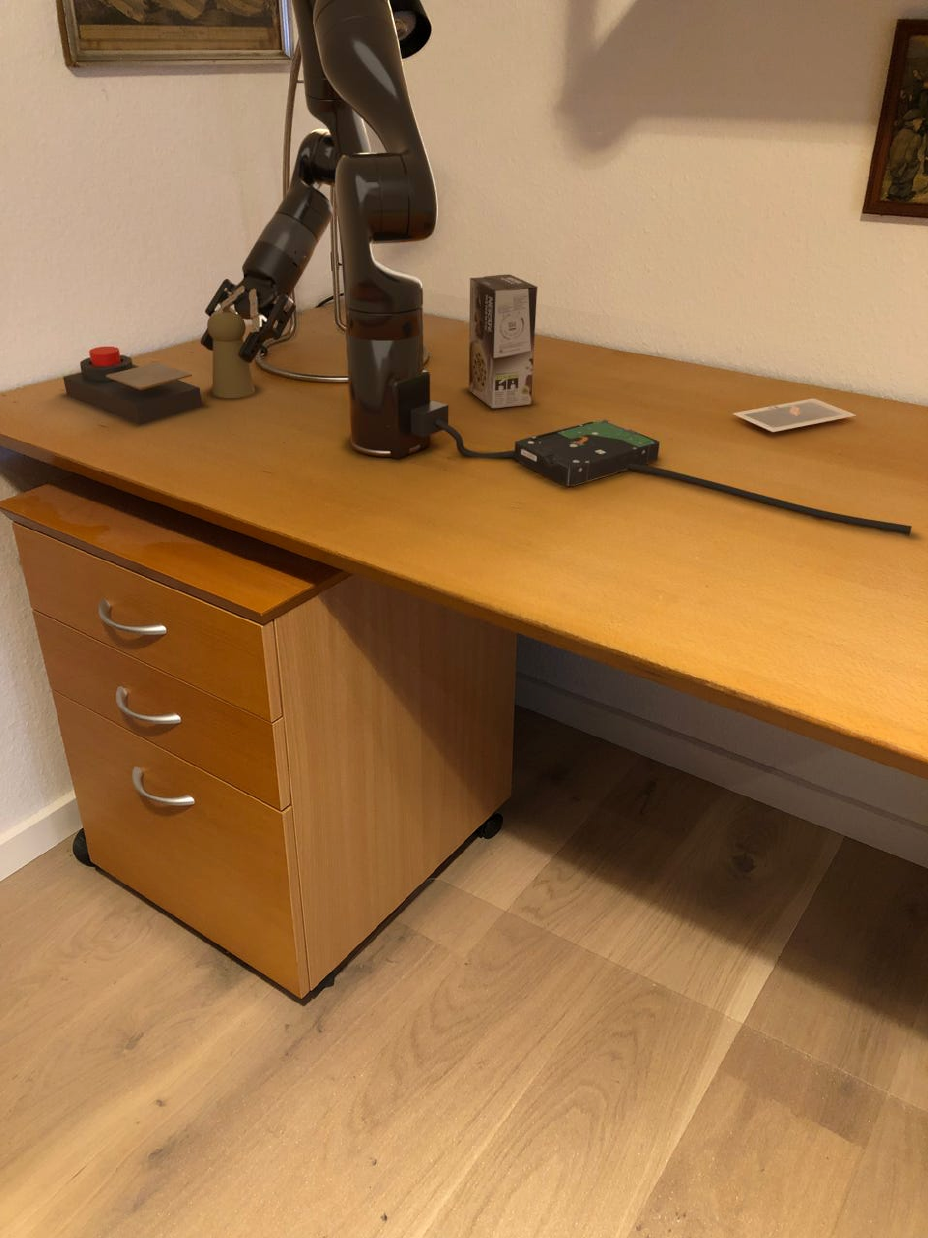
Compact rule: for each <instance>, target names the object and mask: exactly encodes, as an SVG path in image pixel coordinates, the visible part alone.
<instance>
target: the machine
mask: <svg viewBox="0 0 928 1238" xmlns="http://www.w3.org/2000/svg"><path fill="white" fill-rule="evenodd" d="M120 358H121V363H119V364H116V365H112V366H93V365H91V360H90V357H86V358H84V359H83V360H80V362H79V366H80V371H81V372H76V373H73V374H68V375H64V376H62V380H63V383H64V388H65V393H66V396H68V397H71V398H73V399H76V400H78V401H80V402H82V403H85V404H88V405H90V406H92V407H95V408H97V409H100V410H102V411H104V412H107V413H110V414H112V415H115V416H117V417H119V418H122V419H124V420H126V421H128V422H132V423H134V424H137V425H139V426H140V425H144V424H147V423H151V422H153V421H157V420H161V419H163V418H167V417H170V416H174V415H178V414H181V413H184V412H188V411H191V410H195V409H198V408H201V407H203V401H202V395H201V388H200V387H199V386H196V385H193V384H190V383H187V382H185V381H182V380H180V379H179V380H176V381H172V382H168V383H165V384H161V385H157V386H153V387H150V388H146V389H142V390H140V389H137V388H134V387H131V386H129V385H126V384H123V383H121V382H118V381H115V380H113V379H110V378H107V377H106V375H109V374H113V373H117V372H121V371H125V370H129V369H133V368H137V367H140V366H139V365H136V364H133V359H132V357H130V356H128V355H124V354H120Z"/></svg>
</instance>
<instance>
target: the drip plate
mask: <svg viewBox="0 0 928 1238" xmlns="http://www.w3.org/2000/svg"><path fill="white" fill-rule="evenodd" d="M192 376H193V375H192V373H189V372H187V371H185V370H181V369H177V368H175V367H171V366H169V365H166V364H163V363H160V362H153V363H149V364H144V365H141V366H139V367H137V368H133V369H129V370H125V371H121V372H117V373H113V374H109V375H106V377H107V378H110V379H113V380H115V381H118V382H121V383H123V384H126V385H129V386H131V387H134V388H137V389H140V390H142V389H146V388H150V387H153V386H157V385H161V384H165V383H168V382H172V381H176V380H179V381H180V380H183V379H187V378H190V377H192Z"/></svg>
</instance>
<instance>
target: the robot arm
mask: <svg viewBox="0 0 928 1238" xmlns="http://www.w3.org/2000/svg"><path fill="white" fill-rule="evenodd" d="M291 5H292V9H293V14H294V18H295V25H296V29H297V36H298V41H299V48H300V57H301V65H302V67H301V68H302V78H303V79H302V80H303V87H304V98H305V99H304V100H305V105H306V109H307V111H308V112H309V114H310V115H311V116H312V117H313V118H315V119H316V120H318V121H319V122H321V123H322V124H323V125H324V126H325V127H326V128H327V129H325V128H317V129H314V130H312V131H310V132H309V133H308V134H307V135H305V137H304V138H303V139H302V141H301V142H300V144H299V146H298V151H297V153H296V158H295V162H294V167H293V170H292V173H291V177H290V181H289V186H288V189H287V192H286V194H285V195H284V197H283V198H282V201H281V202H280V203H279V205H278V207H277V209H276V210H275V213H274V214H273V215H272V217H271V218H270V220H269V221H268V222H267V223H266V225H265V227H264V228H263V229H262V231H261V233H260V235H259V236H258V238H257V239H256V242H255V243H254V245H253V247H252V249H251V250H250V252H249V254H248V255H247V257H246V259H245V260H244V262H243V264H242V266H241V271H242V275H243V278H242V279H241V281H240V282H239V283H238V284H234V283H233V282H232V281H231V280H230V279H229V278H225V279H224V280H223V281H222V282H221V284H220V285H219V287H218V289H217V290H216V292H215V293H214V295H213V296H212V298H211V300H210V301H209V303H208V305H207V306H206V307H205V309H204V313H205V315H207V316H208V317H209V318H210V317H211V316H212V315H214V314H218V313H225V312H228V313H236V314H238V315H240V316H241V317H242V318H243V320H246V321H248V320H251V322H252V331H249V333H248V334H247V336H246V338H245V339H244V340H243V341H244V343H243V345H242V347H241V348H240V350H239V352H238V356H239V357H240V358H241V359H243V360H244V361H245V362H247V363H249V364H251V363H252V362H253V360H255V359H256V357H257V355H258V353H259V351H260V350H261V349H262V346H263V345H264V343H266V342H269V340H270V339H271V340H272V339H273V340H274V341H279V340H280V338H281V337H282V335H283V333H284V331H285V329H286V328H287V326H288V324H289V321H290V320H291V317H292V315H293V314H294V312H295V310H296V308H297V304H296V303H295V302H294V300H293V299H292V298H290V297H291V294H292V293H293V291H294V289H295V288H296V286H297V285H298V282H299V281H300V279H301V277H302V275H304V272H305V270H306V268H307V267H308V266H309V263H310V261H311V260H312V258H313V255H314V252H315V250H316V247H317V245H318V244H319V242H320V240H321V239H322V237H323V235H324V233H325V232H326V231H327V228H328V227H329V224H330V223H331V221H332V219H333V215H334V207H333V205H332V203H331V200H330V199H328V197H327V196H326V195H325V194H324V193H323V192H321V191H320V189H321V188H322V186H323V185H325V186H326V185H327V186H330V187H333V188H334V192H335V207H336V216H337V224H338V225H337V226H338V233H339V243H340V254H341V255H340V256H341V257H340V258H341V272H342V273H341V274H342V284H343V285H342V286H343V303H344V320H345V342H346V343H345V344H346V345H345V347H346V360H347V361H346V364H347V381H348V383H347V384H348V399H349V400H348V404H349V419H350V420H349V422H350V446H351V447H352V449H353V450H354V451H357V452H359V453H361V454H364V455H368V456H374V457H383V458H384V457H388V458H394V459H396V460H399V459H401V458H404V457H406V456H408V455H411V454H414V453H416V452H418V451H422V450H423V449H426V448H428V447H431V435H434V434H436V433H439V432H442V431H444V432H446V433H447V434H448V435H450V437H452V438H453V439H454V441H455V443H456V444H455V445H456V449H457V451H458V452H459V454H460V455H462V456H464V457H467V458H473V459H474V458H476V459H477V458H479V459H495V460H496V459H498V460H501V459H502V460H503V459H504V460H505V459H514V456H515V450H506V451H499V452H498V451H497V452H485V453H483V452H482V453H481V452H475V451H472V450H470V449H468V448H466V447H465V446H464V440H463V437H462V435H461V434H460V433H459V432H458V430H457V429H455V428H454V427H452V426H451V425H449V404H447V403H444V402H440V401H436V400H431V374H430V371H428V370H424V369H425V368H424V363H425V361H424V358H425V357H424V286H423V284H422V281H421V280H420V278H418V277H417V276H415V275H413V274H411V273H409V272H405V271H402V270H398V269H395V268H392V267H390V266H388V265H385V264H384V263H382V262H381V261H379V260H378V259H376V258H375V257H374V254H373V248H372V246H373V245H382V244H383V245H385V244H403V243H404V244H406V243H416V242H417V243H418V242H421V241H425V240H427V239H429V238H430V237H431V236H432V235H433V234H434V232H435V229H436V227H437V223H438V215H439V207H438V194H437V188H436V182H435V178H434V174H433V170H432V167H431V164H430V160H429V156H428V153H427V149H426V146H425V143H424V140H423V137H422V134H421V131H420V128H419V125H418V122H417V119H416V116H415V115H416V114H415V112H414V108H413V105H412V101H411V97H410V93H409V88H408V84H407V78H406V75H405V69H404V65H403V60H402V59H403V58H402V54H401V48H400V41H399V38H398V34H397V33H398V32H397V28H396V24H395V19H394V15H393V10H392V7H391V4H390V0H291ZM365 123H366V124H367V125H368V126H369V128H370V129H372V131H373V132H374V134H375V135H376V136H377V137H378V140H379V141H380V142H381V144H382V146H383V148H384V150H385V152H372V147H371V143H370V139H369V136H368V133H367V129H366V125H365ZM218 305H219V306H220V307H219V308H217V307H218ZM232 306H233V308H232ZM216 308H217V309H216ZM276 322H277V324H276ZM275 324H276V326H275V327H274V325H275ZM200 345H201V346H203V347H204V348H205V349H206V350H208V351H211V352H213V338H212V337H211V336H210V335H209V332H208V329H207V328H206V329H205V331H204V332H203V334H202V335H201V339H200ZM627 469H628V470H630V471H634V472H639V473H644V474H650V475H653V476H659V477H663V478H667V479H671V480H674V481H679V482H682V483H687V484H691V485H694V486H699V487H702V488H706V489H710V490H713V491H717V492H721V493H724V494H728V495H731V496H735V497H738V498H742V499H744V500H749V501H752V502H755V503H759V504H763V505H766V506H767V505H768V506H771V507H775V508H779V509H783V510H785V511H790V512H792V513H798V514H801V515H805V516H809V517H814V518H817V519H821V520H822V519H823V520H827V521H832V522H836V523H841V524H846V525H851V526H857V527H863V528H869V529H874V530H875V529H876V530H880V531H887V532H892V533H899V534H900V533H901V534H906V535H911V532H912V525H906V524H900V523H895V522H890V521H889V522H888V521H882V520H875V519H869V518H863V517H858V516H851V515H846V514H842V513H836V512H833V511H827V510H822V509H818V508H814V507H810V506H806V505H801V504H797V503H794V502H790V501H786V500H782V499H779V498H774V497H771V496H767V495H763V494H761V493H760V494H759V493H756V492H752V491H748V490H744V489H741V488H737V487H734V486H731V485H727V484H723V483H719V482H716V481H712V480H708V479H705V478H701V477H697V476H693V475H689V474H686V473H685V474H684V473H681V472H677V471H673V470H669V469H665V468H659V467H655V466H652V465H647V464H644V465H641V464H636V463H629V464H628V465H627Z"/></svg>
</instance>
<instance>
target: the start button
mask: <svg viewBox="0 0 928 1238" xmlns="http://www.w3.org/2000/svg"><path fill="white" fill-rule="evenodd" d="M88 355H89V358H90V360H91V365H93V366H112V365H116V364H119V363H121V358H120V355H121V353H120V348H118V347H115V346H97V347H94V348H91V349H89V351H88Z"/></svg>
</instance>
